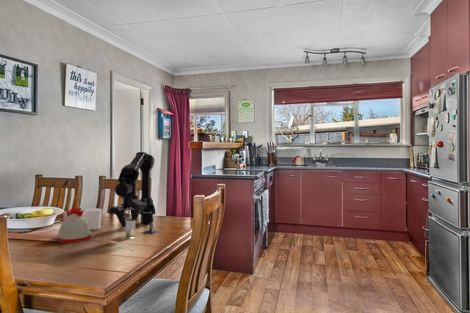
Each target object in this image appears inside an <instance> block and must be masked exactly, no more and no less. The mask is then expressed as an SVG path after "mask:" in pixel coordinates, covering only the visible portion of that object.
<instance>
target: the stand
mask: <svg viewBox="0 0 470 313" xmlns="http://www.w3.org/2000/svg"><path fill="white" fill-rule="evenodd" d="M148 225H149V226H148V230H145V231H141V232H140V233H141V234H145V235H146V234H147V235H151V236H153V235H154V234H158V233H160V232H161V231H160V230H155V229H154V222H153V223H149V224H148Z"/></svg>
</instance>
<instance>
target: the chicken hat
mask: <svg viewBox="0 0 470 313" xmlns="http://www.w3.org/2000/svg"><path fill="white" fill-rule="evenodd" d="M66 213H67V216H66V217H65V219H64V220H63V221H62V223H61V225H60V227H59V230H58V233H57V238H58V240H59V241H58V240H57V241H58V243H59V242H60V243H65V244H69V243H80V242H84V241H88V240H90V239H91V237H92V234H91V233H92V230H90V228H89V223H88V222H87V221H86V217H84V216H83V213H84V210H82V207H79V208H78V206H76V207H75V206H72V208H70V209H69V211H67V212H66Z"/></svg>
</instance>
